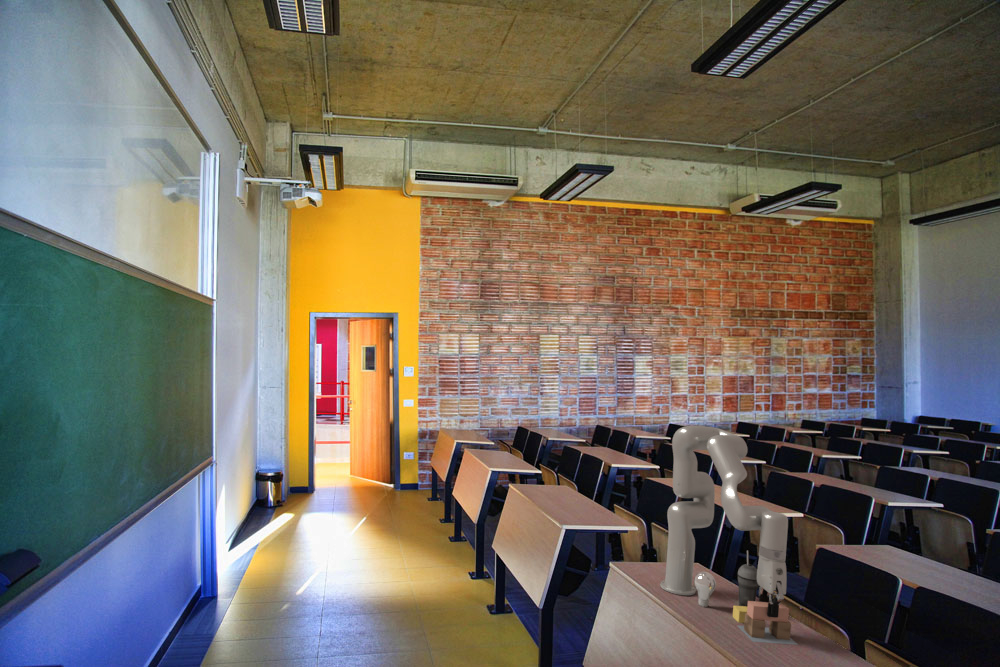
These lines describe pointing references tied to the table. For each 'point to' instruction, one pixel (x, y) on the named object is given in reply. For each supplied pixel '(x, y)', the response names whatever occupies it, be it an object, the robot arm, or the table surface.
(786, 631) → the pier
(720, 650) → the table surface
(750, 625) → the block
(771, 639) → the board
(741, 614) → the cube
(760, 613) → the beam
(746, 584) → the beverage cup
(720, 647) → the table surface
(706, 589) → the light bulb
